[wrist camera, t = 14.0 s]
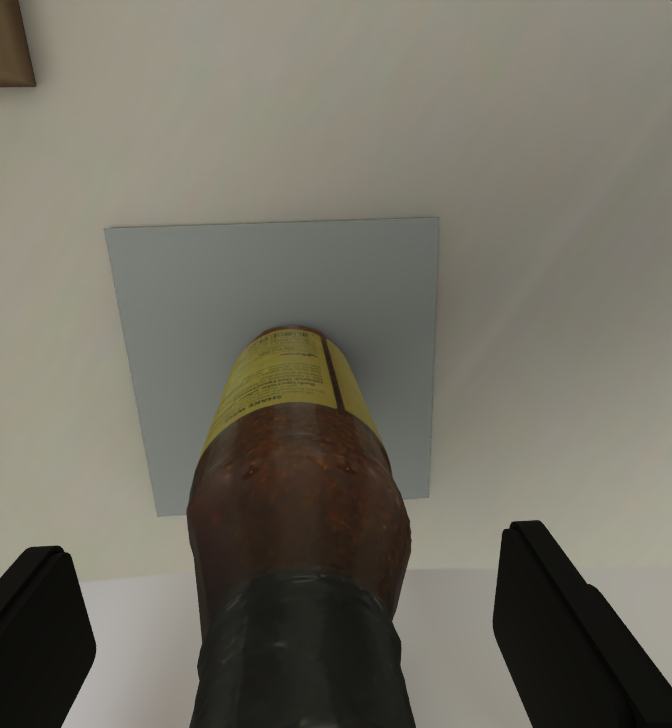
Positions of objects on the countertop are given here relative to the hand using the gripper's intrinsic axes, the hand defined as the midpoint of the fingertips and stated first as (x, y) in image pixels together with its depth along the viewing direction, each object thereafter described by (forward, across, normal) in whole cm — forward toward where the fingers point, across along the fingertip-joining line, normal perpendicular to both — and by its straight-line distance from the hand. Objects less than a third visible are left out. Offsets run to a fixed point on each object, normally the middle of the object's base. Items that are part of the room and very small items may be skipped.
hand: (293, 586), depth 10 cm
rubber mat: (+15, +1, +1) cm, 15 cm away
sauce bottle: (+15, +1, +1) cm, 15 cm away
